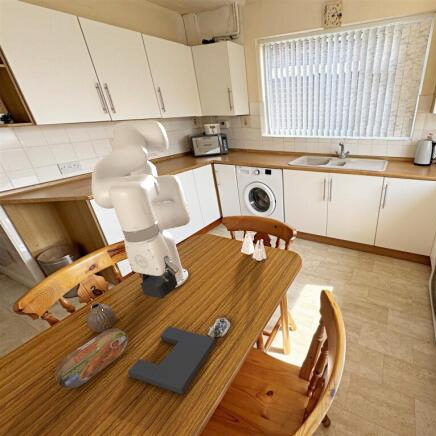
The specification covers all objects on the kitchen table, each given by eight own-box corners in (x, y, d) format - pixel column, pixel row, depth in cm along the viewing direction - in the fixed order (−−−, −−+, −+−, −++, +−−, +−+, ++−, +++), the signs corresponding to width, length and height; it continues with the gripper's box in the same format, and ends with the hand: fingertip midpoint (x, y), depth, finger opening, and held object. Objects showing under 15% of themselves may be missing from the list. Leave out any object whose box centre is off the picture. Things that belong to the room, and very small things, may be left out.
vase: (89, 339, 70) (77, 318, 66) (95, 322, 76) (84, 301, 72) (116, 330, 73) (106, 309, 69) (120, 314, 78) (111, 294, 75)
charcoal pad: (129, 376, 60) (127, 371, 59) (170, 330, 72) (168, 326, 71) (182, 394, 56) (180, 389, 55) (216, 343, 68) (214, 338, 67)
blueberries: (205, 341, 68) (204, 336, 68) (209, 319, 76) (208, 314, 75) (229, 337, 69) (228, 333, 68) (231, 316, 76) (230, 311, 76)
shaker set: (240, 254, 109) (237, 233, 104) (246, 250, 112) (244, 229, 107) (261, 262, 103) (258, 240, 98) (267, 257, 106) (265, 236, 101)
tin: (67, 396, 56) (50, 374, 53) (62, 389, 58) (46, 366, 54) (133, 346, 68) (123, 325, 64) (127, 341, 69) (117, 320, 66)
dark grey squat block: (144, 295, 65) (140, 283, 63) (161, 281, 70) (157, 270, 69) (162, 299, 63) (158, 287, 62) (177, 284, 69) (174, 273, 67)
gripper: (101, 235, 58) (125, 292, 66) (158, 242, 54) (177, 303, 61) (128, 222, 65) (147, 275, 72) (181, 228, 60) (195, 284, 68)
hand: (161, 288), depth 67 cm, fingers closed on dark grey squat block, 6 cm apart
